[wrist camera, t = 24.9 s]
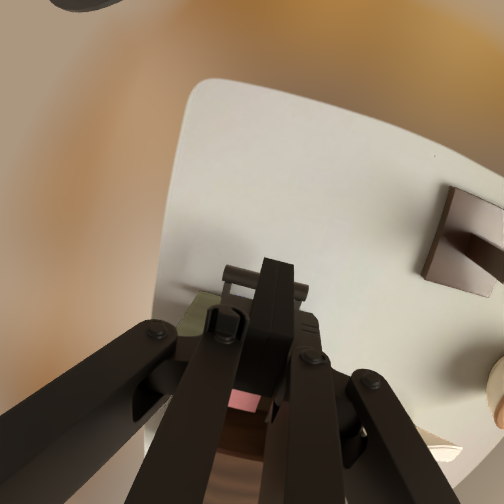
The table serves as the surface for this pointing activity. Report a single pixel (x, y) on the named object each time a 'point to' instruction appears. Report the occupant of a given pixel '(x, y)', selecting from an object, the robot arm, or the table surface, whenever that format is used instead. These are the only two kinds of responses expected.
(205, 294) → the drawer
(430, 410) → the table surface
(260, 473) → the cabinet
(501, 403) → the trinket box
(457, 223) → the stand
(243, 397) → the block
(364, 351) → the table surface
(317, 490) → the robot arm
